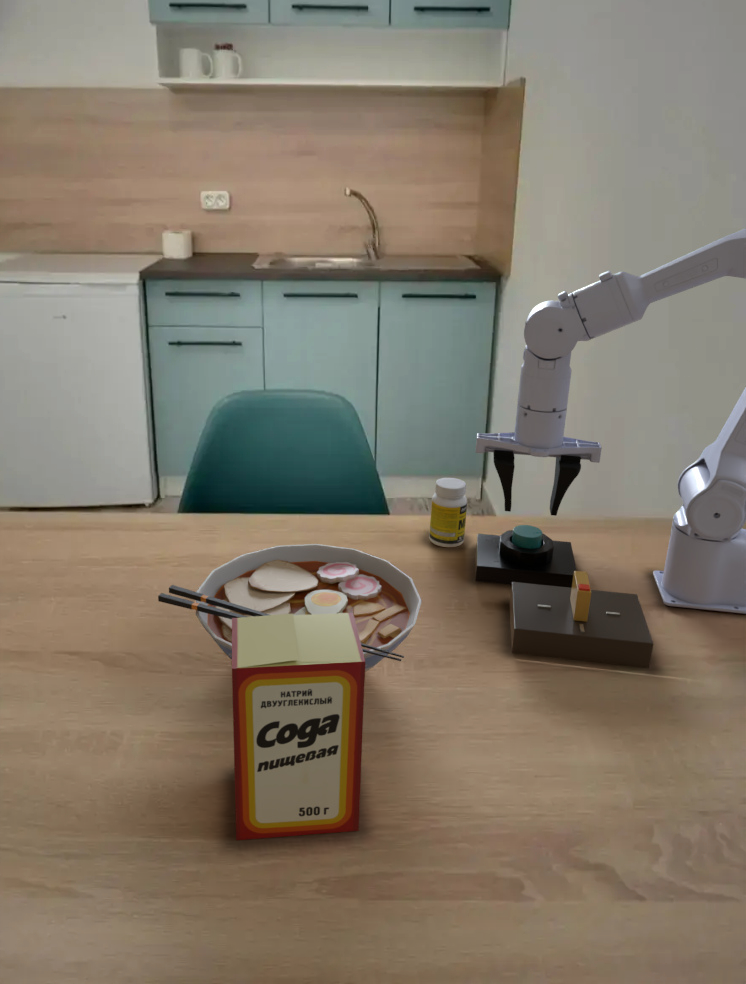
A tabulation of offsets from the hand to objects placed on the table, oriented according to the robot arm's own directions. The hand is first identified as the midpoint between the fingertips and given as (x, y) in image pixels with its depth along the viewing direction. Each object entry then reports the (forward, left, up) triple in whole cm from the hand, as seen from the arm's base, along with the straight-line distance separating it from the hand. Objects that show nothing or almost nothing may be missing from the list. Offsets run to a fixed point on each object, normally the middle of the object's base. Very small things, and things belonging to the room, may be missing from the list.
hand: (530, 510), depth 102 cm
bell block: (0, 0, -8) cm, 8 cm away
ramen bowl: (+23, +24, -8) cm, 34 cm away
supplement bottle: (+10, -6, -8) cm, 14 cm away
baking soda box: (+20, +44, -8) cm, 49 cm away
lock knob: (-5, +14, -5) cm, 16 cm away
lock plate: (-5, +14, -8) cm, 17 cm away
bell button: (0, 0, -5) cm, 5 cm away
